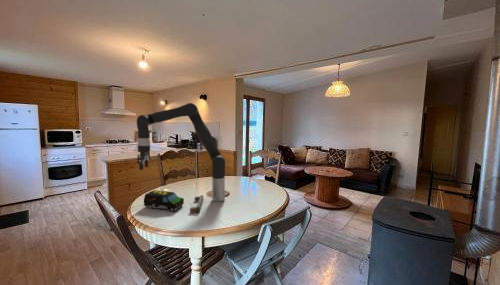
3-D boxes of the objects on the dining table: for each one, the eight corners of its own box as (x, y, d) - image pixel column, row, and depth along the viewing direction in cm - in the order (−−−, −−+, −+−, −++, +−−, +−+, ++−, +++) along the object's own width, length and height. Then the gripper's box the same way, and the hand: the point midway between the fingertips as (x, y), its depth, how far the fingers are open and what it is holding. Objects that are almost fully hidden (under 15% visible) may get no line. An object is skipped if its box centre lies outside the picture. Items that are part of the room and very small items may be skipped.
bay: (203, 200, 151) (203, 195, 151) (199, 212, 131) (199, 206, 130) (195, 200, 151) (195, 195, 150) (190, 213, 130) (189, 207, 129)
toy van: (176, 212, 130) (175, 197, 129) (142, 208, 136) (142, 194, 135) (184, 206, 141) (184, 192, 140) (153, 202, 146) (153, 188, 145)
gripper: (145, 146, 132) (145, 170, 133) (153, 143, 146) (153, 166, 147) (133, 145, 131) (133, 170, 132) (142, 143, 145) (142, 165, 147)
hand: (144, 168), depth 140 cm, fingers open, 8 cm apart
